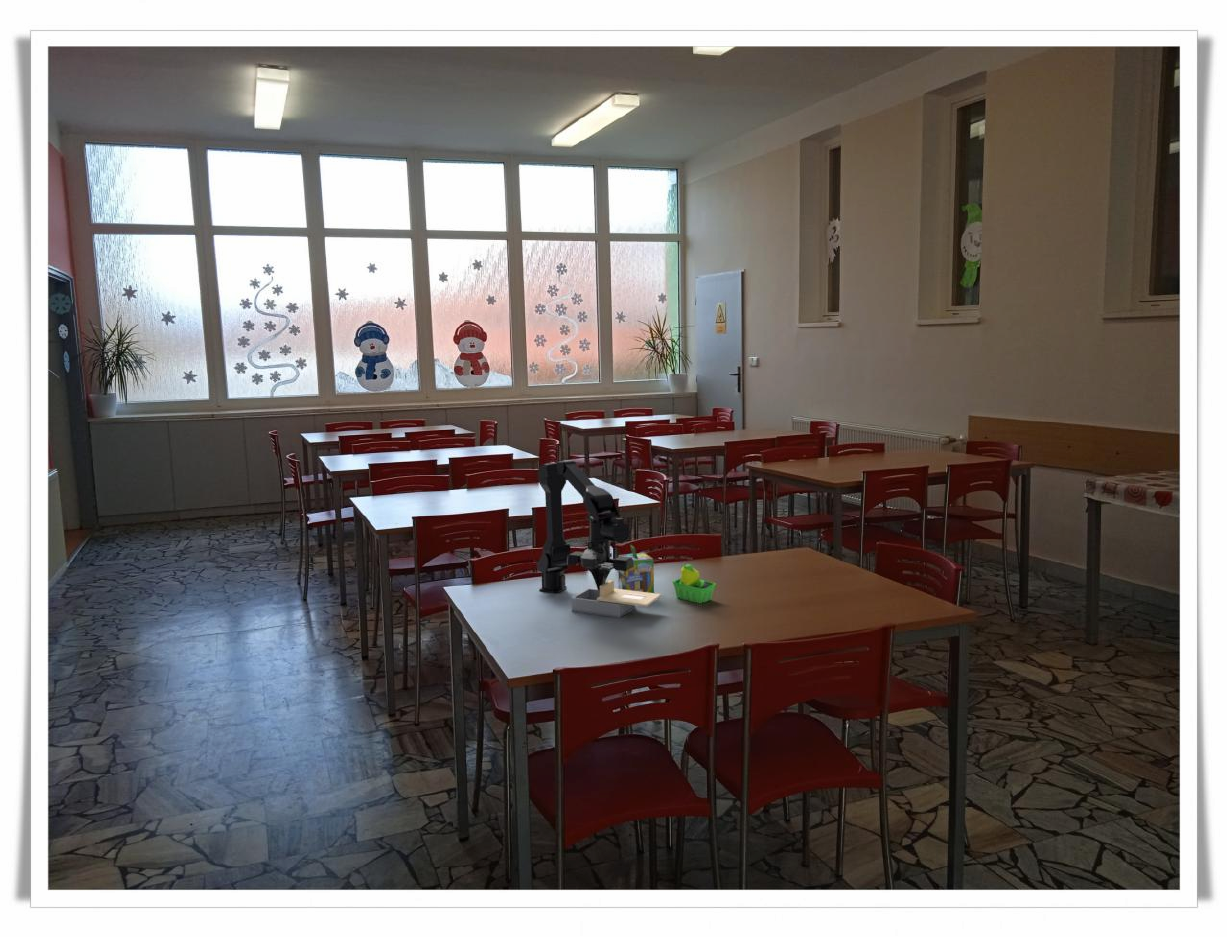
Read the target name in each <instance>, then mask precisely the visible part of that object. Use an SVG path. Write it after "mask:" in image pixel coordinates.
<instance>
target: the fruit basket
mask: <svg viewBox="0 0 1227 937" xmlns="http://www.w3.org/2000/svg"><path fill="white" fill-rule="evenodd" d="M680 571H681V574H680V578H678V579H674V580H673V581H672V583H673V586H674V590H675V595H676V597H677V598H678V599H681V600H686V601H689V602H694V603H696V602H697V603H696V604H700V603H701V604H703V603H706V602H708V601H711V600H712V597H713V594H714V589H715V587H716V585H717V584H716V583H715V582H710V581H707V580H703V579H699V577H700V572H699V571H698V570H697V569H695V568H694V567H693V565H691V564H686V565H683V566H682V567H681V569H680ZM702 602H703V603H702Z"/></svg>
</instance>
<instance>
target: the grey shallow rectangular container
mask: <svg viewBox="0 0 1227 937" xmlns="http://www.w3.org/2000/svg"><path fill="white" fill-rule="evenodd" d="M598 597H600V591H599V590H598V588H589V587H588V588H586V589H585V590H583V591H580V592H579V593H578V594H576V595H574V596H572V597H571V612H572V613H580V614H587V615H593V616H594V615H595V616H600V617H601V616H602V617H608V618H615V619H621V618H622V617H624V616H625V615H626V614H628V613H629V612H631V611H632V610H634V609H636V605H629V604H622V603H614V602H606V601H599V600H597V598H598Z"/></svg>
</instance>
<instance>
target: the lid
mask: <svg viewBox="0 0 1227 937" xmlns="http://www.w3.org/2000/svg"><path fill="white" fill-rule="evenodd" d="M661 596H662V594H661V593H656V592H654V593H648V592H640V591H632V590H623V589H619V588H615V580H613V579H609V580H608V581H607V580H606V581H605V583H604V584H602V585H601V586H600V597H598V598H597V600H599V601H606V602H614V603H622V604H629V605H635V606H639V607H649V606H650V605H651V604H652V603H654V602H655V601H656V600H658V599H660V597H661Z"/></svg>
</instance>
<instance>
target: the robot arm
mask: <svg viewBox="0 0 1227 937" xmlns="http://www.w3.org/2000/svg"><path fill="white" fill-rule="evenodd" d="M537 477H538V482H539V485H540V487H541V488H542V490H543V491H544V494H545V516H546V517H545V519H546V521H545V522H546V541H545V542H544V544H543V546H542V551H541V557H540V558H539V560H538V561H537V562H536V564H535V565H536V569H537V572H540V573H541V587H540V588H539V589H538V590H539V592H547V593H556V594H558V593H560V592H562V591H563V590H565V589H567V588H568V587H567V586H566V575H565V571H566V570H569V566H577V565H579V563H581V567H582V568H584V569H585V570H587V571H589V572H590V574H591V575H592V578H593V580H594V583H595V585H596V589H598V590H599V591H600V586H601V585H602V584H604V583H606V582H607V579H608V576H609V575H610V572H611V571H612V570H613V569H614V570H615V571H618V570H619V571H627V570H629V569H630V568H632V567H634V561H633V559H632V558H631V557H624V556H620V557H618V556H617V557H616V558H612V557H613V553H612V552H611V544H612V543H613V542H614V543H618V544H623V543H625V542H626V541H628V539H629V537H630V532H631V530H630V527H629V526H628V524H626V523H625V520H624V518H622V517H621V514H620V509H619V508H618V507H617V505H616V502H615V500H614V497H613V495H612V494H611V493H610V492H609V491H608V490H606V489H604V488H602V487H599V486H598V485H597V486H596V485H595V483H594V482H593V481H592V480H591V479H590V478H589V477H588V475H586V473H584V471H583V470H581V468H580V467H579V466H578V463H577V462H576V461H575V460H574V459H573V460H572V459H567V460H560V461H558V462H551V463H550V462H549V463H543V464H541V465H540V466H539V467H538V470H537ZM567 481H568V482H569V483H570V485H571V486H572V487H573V488H574V489H575V490H576V491H577V493H578V494H579V495H580V496H581V498H582V505H583V506H584V508H585V509H586V511H587V513H588V515H587V516H585V520H588V521H589V541H587V546H586V547H587V548H586V549H584V551H574V552H572V553H571V545H570V544H569V543H567V542H566V540H565V539H564V522H563V496H562V491H563V489H564V488H565V486H566V484H567ZM619 571H618V572H619Z"/></svg>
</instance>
